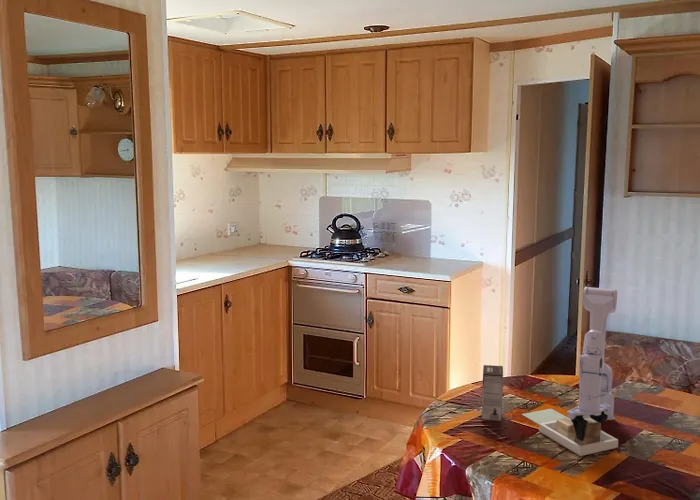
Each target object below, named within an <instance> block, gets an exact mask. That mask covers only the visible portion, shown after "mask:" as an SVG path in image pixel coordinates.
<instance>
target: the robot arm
mask: <svg viewBox="0 0 700 500" xmlns="http://www.w3.org/2000/svg"><path fill="white" fill-rule="evenodd" d="M617 302H618V289H616V288H603V287H590V286H589V287H588V286H585V287H584V288H583V292H582V305H583V308H584V309H585V310H586V311H588V312H589V330H588V331H587V332H586V333H585V334H584V339H583V346H582V354H580V356H579V363H578V369H579V379H578V387H579V394H578V395H579V397H578V406H576V407H574V408H572V409H569V410H567V411H566V417H568V418H570V419H571V421H572V423H573V425H574V428H575V432H576V437H577V439H579V440H580V441H583V439H584V433H585V428H586V425H587V423H588V421H587V420H585V419H584V418H585V417H590V418H592V419H594V420H596V421H598V422H600V423H601V429H602V427H603V426H604V424H605V422H606V421H609V420H611V421H612V420H615V419H616V417H614V411H615V410H614V408H615V399H614V398H615V397H614V394H613V393H612V389H613V388H612V386H613V370H612V367H610V366H609V365H608V364H607V363H605V348H606V337H607V335H606V333H607V318H608V317H609V316H610V315H609V314H613V313H616V310H617Z"/></svg>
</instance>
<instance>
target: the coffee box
mask: <svg viewBox="0 0 700 500" xmlns="http://www.w3.org/2000/svg"><path fill="white" fill-rule="evenodd" d="M482 369H483V370H482V389H481V390H482V391H481V392H482V396H481V402H482V403H481V420H488V421H500V422H501V421H502V416H503V415H502V413H503V411H502V409H503V391H504V390H503V389H504V388H503V385H504V366H503V365H490V364H489V365H488V364H484V365H483V368H482Z"/></svg>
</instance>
